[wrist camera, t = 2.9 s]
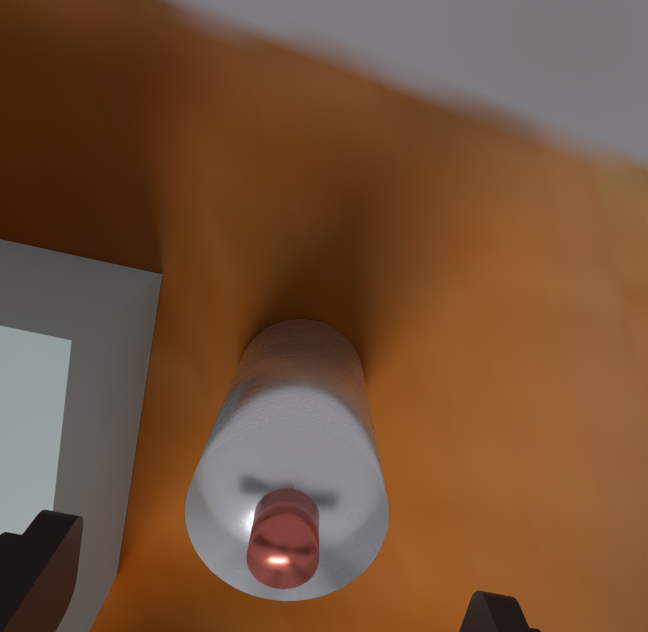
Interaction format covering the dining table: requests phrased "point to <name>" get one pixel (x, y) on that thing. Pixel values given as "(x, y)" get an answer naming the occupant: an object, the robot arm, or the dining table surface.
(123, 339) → the box with square opening
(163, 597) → the dining table surface
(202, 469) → the spout can
